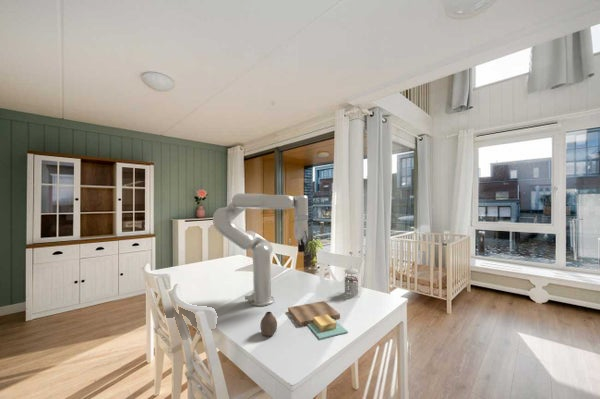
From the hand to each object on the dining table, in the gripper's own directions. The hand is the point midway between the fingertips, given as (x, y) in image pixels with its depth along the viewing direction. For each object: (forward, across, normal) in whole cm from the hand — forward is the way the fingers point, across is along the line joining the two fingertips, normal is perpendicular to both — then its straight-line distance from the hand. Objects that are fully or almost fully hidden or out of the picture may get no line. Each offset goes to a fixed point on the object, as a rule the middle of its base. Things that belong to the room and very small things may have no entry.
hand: (301, 251), depth 135 cm
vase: (+27, +25, -25) cm, 45 cm away
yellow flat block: (+26, +29, -1) cm, 39 cm away
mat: (+27, +31, -1) cm, 41 cm away
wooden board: (+27, +17, -1) cm, 32 cm away
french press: (+27, +2, +30) cm, 41 cm away
